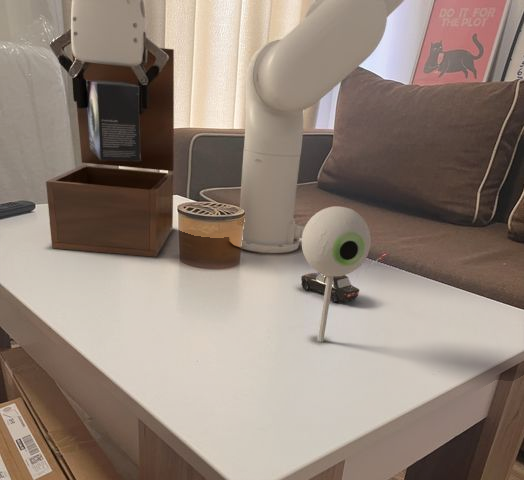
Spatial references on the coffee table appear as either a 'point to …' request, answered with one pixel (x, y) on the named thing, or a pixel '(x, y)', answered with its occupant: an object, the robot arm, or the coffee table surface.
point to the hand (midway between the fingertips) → (111, 110)
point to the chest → (110, 210)
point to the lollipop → (335, 247)
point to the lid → (151, 123)
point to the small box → (114, 120)
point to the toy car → (339, 286)
